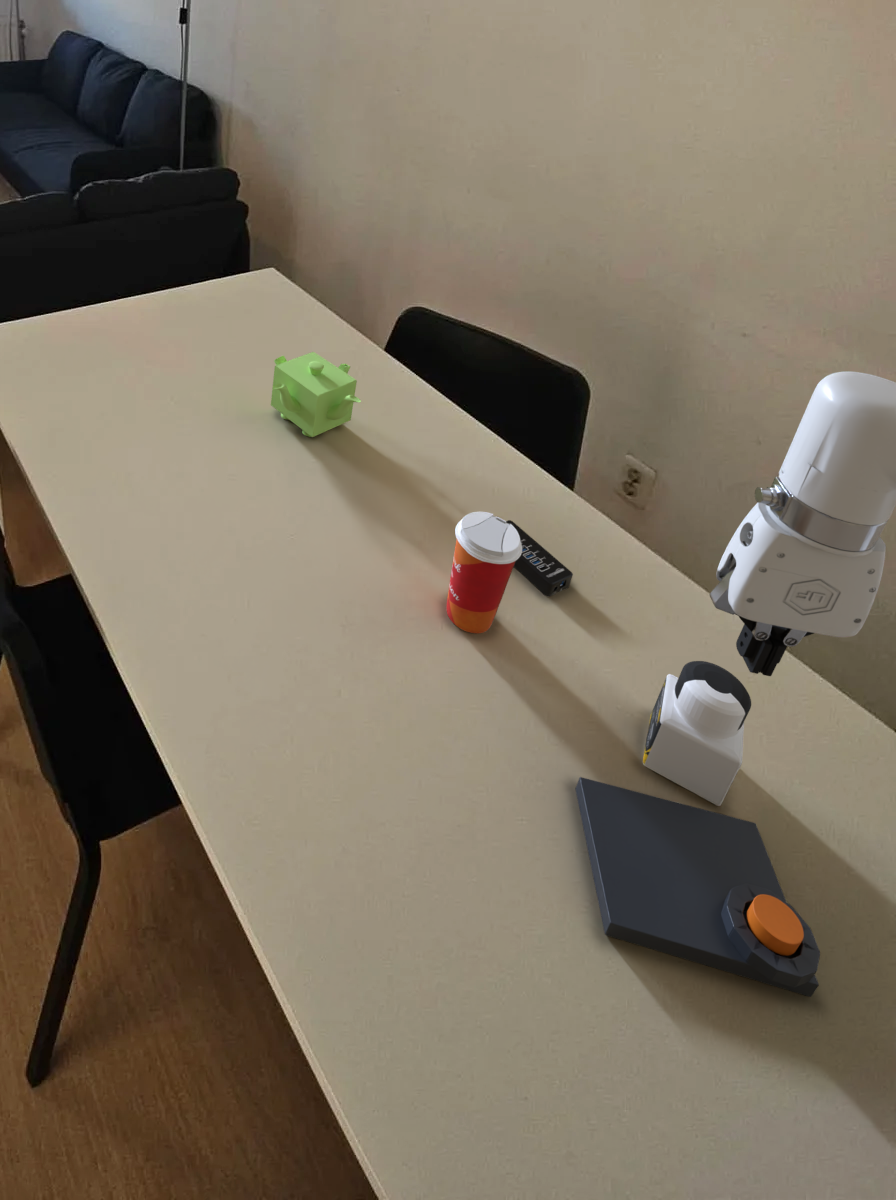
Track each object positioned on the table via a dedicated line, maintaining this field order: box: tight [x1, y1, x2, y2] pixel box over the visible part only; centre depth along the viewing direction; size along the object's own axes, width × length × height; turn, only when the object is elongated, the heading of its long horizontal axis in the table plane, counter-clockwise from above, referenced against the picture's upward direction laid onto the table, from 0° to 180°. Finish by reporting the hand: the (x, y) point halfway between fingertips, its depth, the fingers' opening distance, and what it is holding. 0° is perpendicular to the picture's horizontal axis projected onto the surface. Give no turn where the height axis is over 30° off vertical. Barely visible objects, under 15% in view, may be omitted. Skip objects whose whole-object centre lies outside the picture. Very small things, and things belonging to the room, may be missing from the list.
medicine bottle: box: [642, 660, 752, 807], centre depth 82 cm, size 7×7×12 cm
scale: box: [575, 776, 821, 998], centre depth 72 cm, size 16×14×4 cm
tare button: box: [747, 894, 804, 956], centre depth 67 cm, size 4×4×2 cm
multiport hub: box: [505, 519, 574, 598], centre depth 108 cm, size 4×11×2 cm, turn 25°
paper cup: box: [445, 511, 522, 634], centre depth 97 cm, size 8×8×14 cm
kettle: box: [270, 351, 362, 438], centre depth 135 cm, size 15×14×11 cm
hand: (753, 661), depth 74 cm, fingers closed
